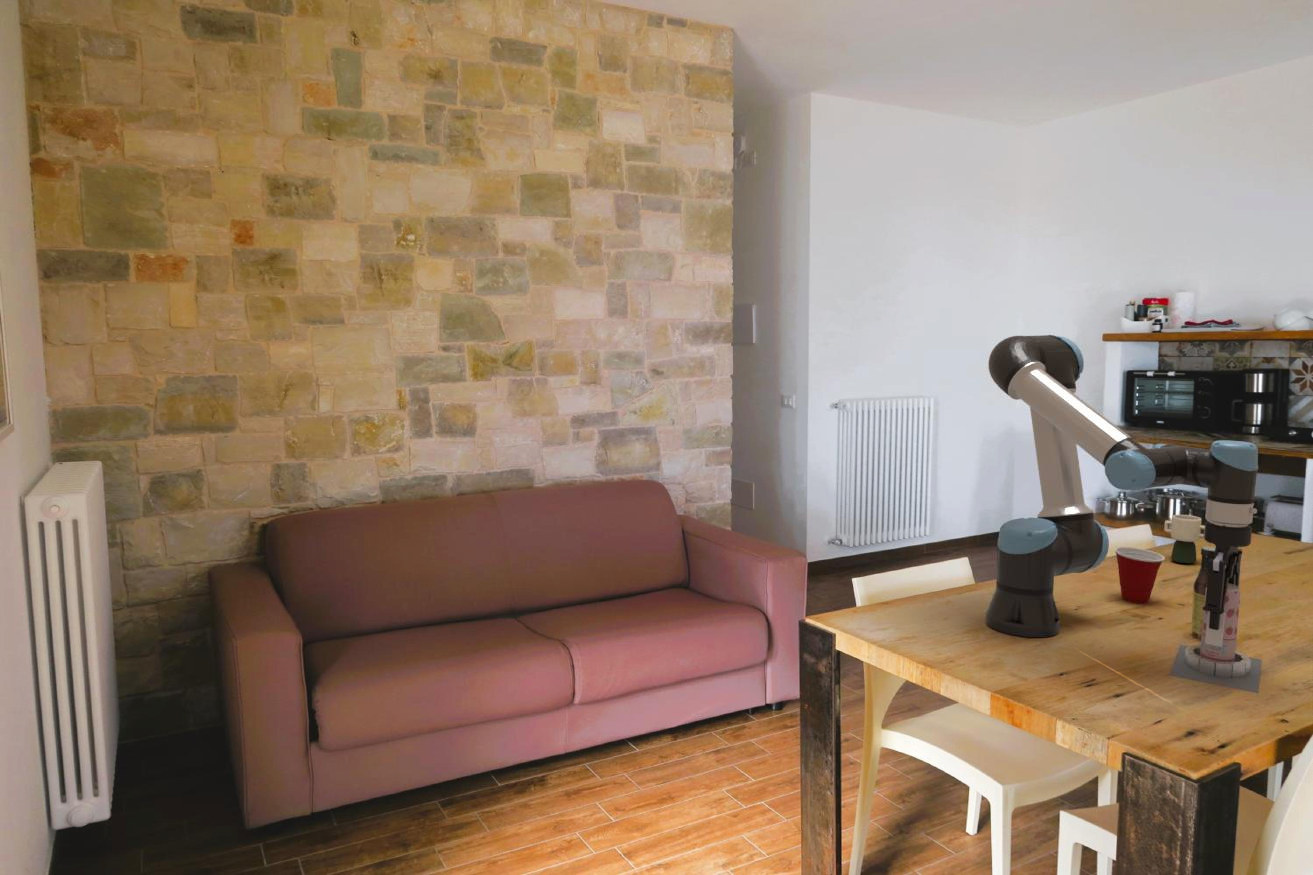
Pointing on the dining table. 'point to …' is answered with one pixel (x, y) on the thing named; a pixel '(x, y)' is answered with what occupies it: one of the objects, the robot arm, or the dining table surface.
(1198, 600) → the sauce bottle
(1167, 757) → the dining table surface
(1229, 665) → the white segmented ring
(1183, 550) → the cup on green stand
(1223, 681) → the holder mat
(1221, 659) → the beverage can
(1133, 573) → the plastic cup
